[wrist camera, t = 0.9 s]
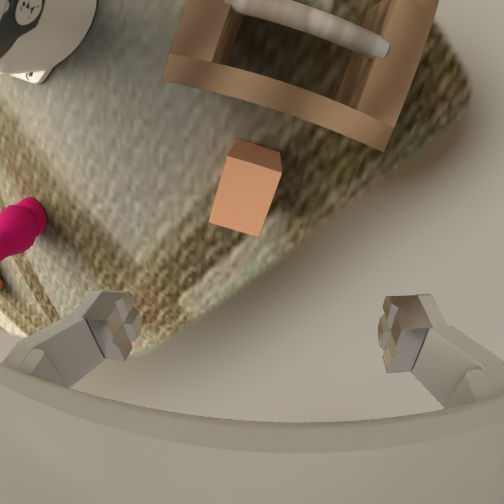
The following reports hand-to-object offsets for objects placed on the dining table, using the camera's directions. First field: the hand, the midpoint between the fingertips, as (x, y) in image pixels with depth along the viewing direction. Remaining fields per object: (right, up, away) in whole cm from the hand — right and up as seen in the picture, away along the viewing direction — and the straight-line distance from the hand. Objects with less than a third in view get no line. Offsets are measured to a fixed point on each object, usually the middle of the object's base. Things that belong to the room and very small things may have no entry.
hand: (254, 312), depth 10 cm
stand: (+4, +24, +17) cm, 30 cm away
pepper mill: (-34, +8, +30) cm, 46 cm away
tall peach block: (0, +11, +25) cm, 28 cm away
